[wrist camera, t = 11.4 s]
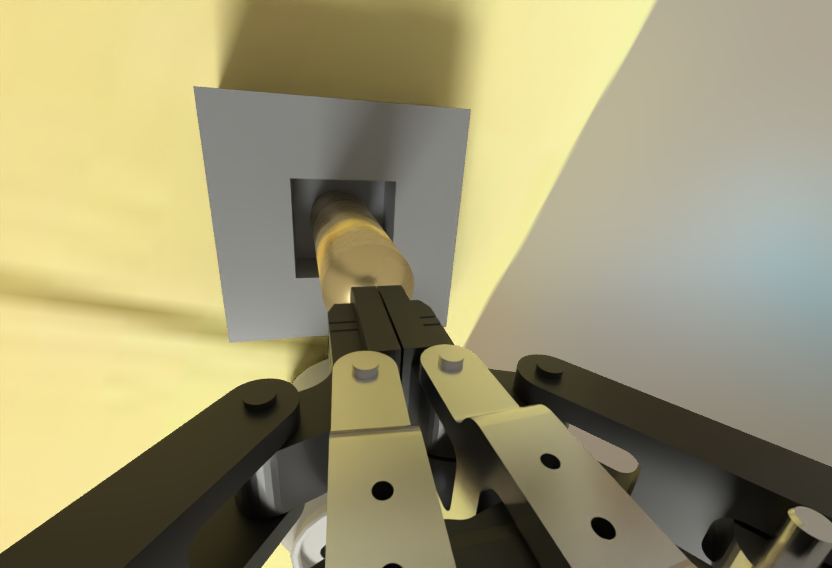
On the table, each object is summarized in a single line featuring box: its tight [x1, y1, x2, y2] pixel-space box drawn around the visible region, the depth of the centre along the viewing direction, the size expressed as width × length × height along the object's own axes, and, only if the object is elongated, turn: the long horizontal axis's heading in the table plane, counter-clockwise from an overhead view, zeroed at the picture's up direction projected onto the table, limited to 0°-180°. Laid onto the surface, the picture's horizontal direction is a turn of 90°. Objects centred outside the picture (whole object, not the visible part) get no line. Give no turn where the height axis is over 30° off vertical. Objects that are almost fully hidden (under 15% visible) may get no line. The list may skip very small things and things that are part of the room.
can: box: [281, 359, 330, 568], centre depth 24 cm, size 8×8×12 cm
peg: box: [311, 190, 414, 311], centre depth 18 cm, size 3×3×10 cm
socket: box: [193, 86, 471, 343], centre depth 22 cm, size 12×12×5 cm
